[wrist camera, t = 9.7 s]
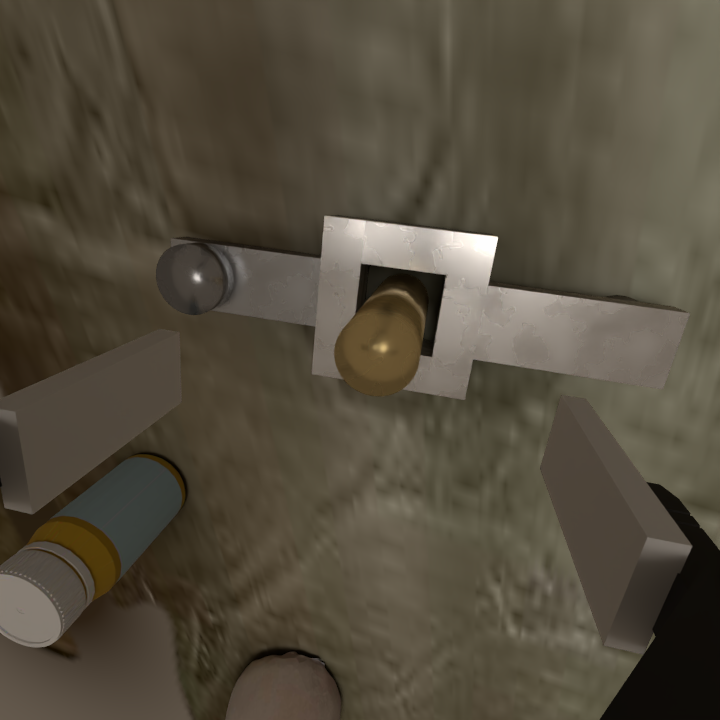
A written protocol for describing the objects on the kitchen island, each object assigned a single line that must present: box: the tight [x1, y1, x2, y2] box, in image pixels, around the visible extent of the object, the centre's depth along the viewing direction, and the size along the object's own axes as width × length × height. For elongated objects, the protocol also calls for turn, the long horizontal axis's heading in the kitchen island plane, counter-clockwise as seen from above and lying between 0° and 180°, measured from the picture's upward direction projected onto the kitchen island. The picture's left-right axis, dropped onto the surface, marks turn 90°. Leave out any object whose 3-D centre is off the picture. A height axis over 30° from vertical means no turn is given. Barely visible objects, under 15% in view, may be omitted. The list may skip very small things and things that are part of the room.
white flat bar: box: [156, 215, 690, 400], centre depth 32 cm, size 11×35×4 cm, turn 84°
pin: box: [334, 274, 429, 396], centre depth 28 cm, size 4×4×14 cm
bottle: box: [0, 454, 185, 647], centre depth 37 cm, size 7×7×15 cm
